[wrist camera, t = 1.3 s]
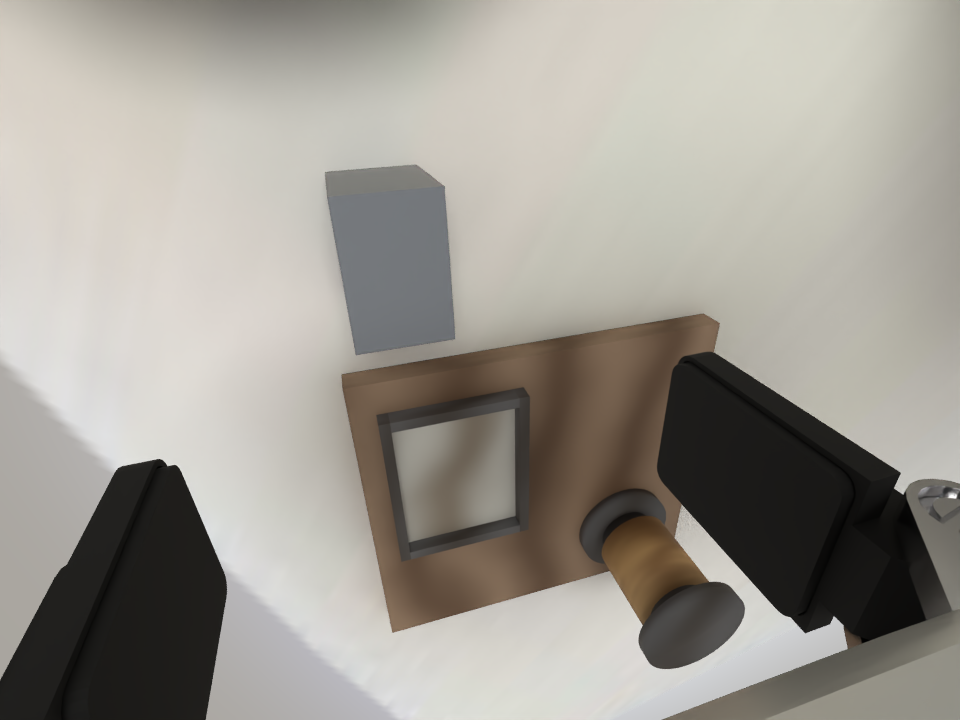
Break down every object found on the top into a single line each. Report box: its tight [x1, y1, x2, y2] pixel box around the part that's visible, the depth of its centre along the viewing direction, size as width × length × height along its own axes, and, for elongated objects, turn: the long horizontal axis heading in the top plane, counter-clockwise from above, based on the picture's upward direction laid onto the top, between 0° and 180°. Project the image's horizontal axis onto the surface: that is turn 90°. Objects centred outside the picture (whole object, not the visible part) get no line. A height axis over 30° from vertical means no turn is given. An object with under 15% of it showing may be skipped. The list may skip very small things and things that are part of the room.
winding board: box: [342, 314, 745, 669], centre depth 29 cm, size 22×20×10 cm
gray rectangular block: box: [325, 165, 455, 355], centre depth 21 cm, size 4×6×6 cm, turn 2°
